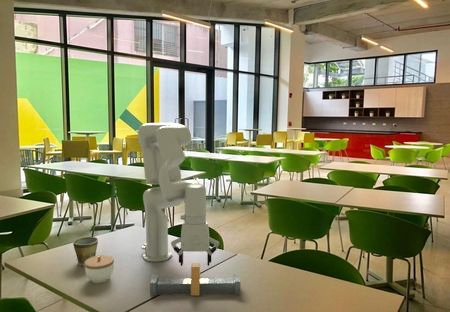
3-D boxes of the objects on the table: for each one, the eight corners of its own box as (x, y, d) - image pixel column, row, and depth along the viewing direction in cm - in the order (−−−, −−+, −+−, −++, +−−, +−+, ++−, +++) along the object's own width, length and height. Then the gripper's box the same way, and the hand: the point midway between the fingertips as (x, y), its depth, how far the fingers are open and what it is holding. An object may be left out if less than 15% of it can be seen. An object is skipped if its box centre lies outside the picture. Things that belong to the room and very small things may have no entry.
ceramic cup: (99, 265, 155) (98, 243, 154) (74, 269, 152) (72, 246, 150) (97, 254, 167) (97, 233, 166) (74, 257, 164) (73, 236, 162)
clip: (199, 295, 130) (199, 269, 129) (190, 295, 130) (190, 269, 128) (200, 284, 138) (200, 260, 136) (192, 284, 138) (192, 260, 136)
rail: (150, 296, 130) (150, 282, 129) (153, 288, 136) (152, 275, 135) (240, 294, 131) (240, 281, 131) (239, 286, 137) (239, 274, 137)
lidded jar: (85, 288, 136) (84, 264, 135) (84, 276, 146) (83, 253, 144) (115, 283, 140) (114, 259, 139) (113, 271, 150) (112, 249, 148)
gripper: (169, 222, 126) (170, 269, 129) (219, 222, 127) (219, 268, 129) (172, 215, 134) (172, 259, 136) (219, 215, 134) (218, 259, 137)
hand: (195, 264), depth 133 cm, fingers open, 9 cm apart
